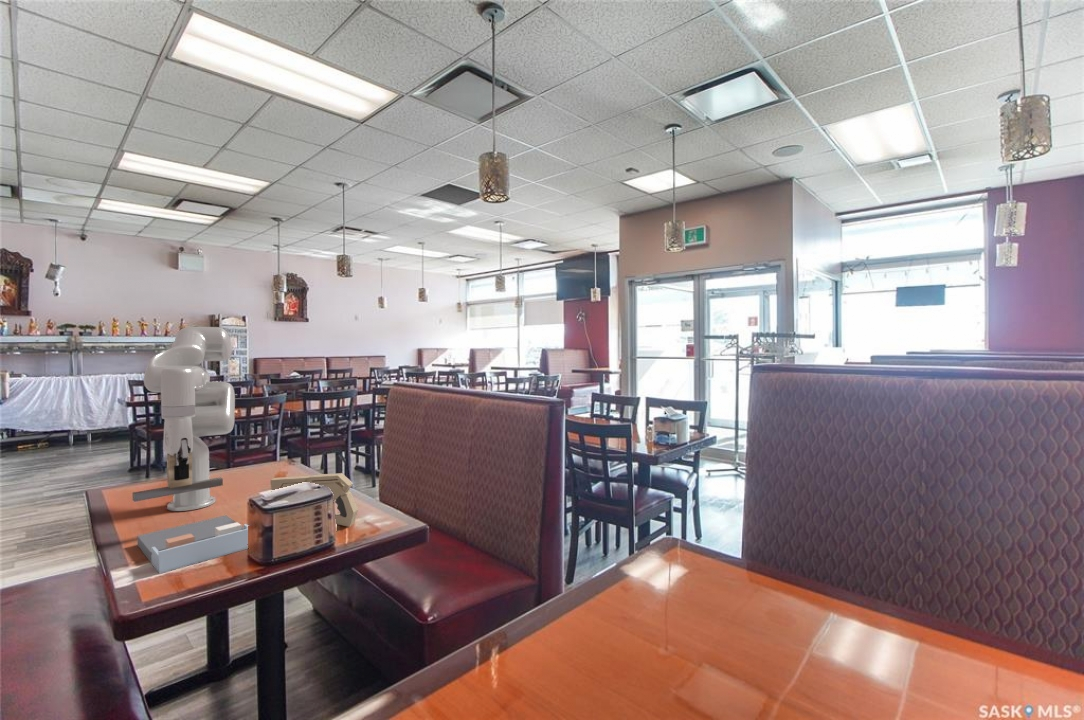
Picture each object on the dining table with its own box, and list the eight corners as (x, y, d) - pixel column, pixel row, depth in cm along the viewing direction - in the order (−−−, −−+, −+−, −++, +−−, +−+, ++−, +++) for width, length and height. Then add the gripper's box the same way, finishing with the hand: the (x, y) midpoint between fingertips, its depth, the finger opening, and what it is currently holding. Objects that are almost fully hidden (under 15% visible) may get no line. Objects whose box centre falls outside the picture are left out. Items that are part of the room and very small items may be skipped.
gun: (359, 523, 141) (355, 472, 141) (354, 527, 138) (349, 475, 138) (281, 526, 144) (276, 476, 143) (274, 531, 140) (269, 479, 140)
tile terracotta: (165, 539, 115) (168, 543, 113) (190, 533, 119) (194, 536, 117) (166, 560, 115) (169, 564, 113) (191, 553, 119) (194, 557, 117)
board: (137, 545, 125) (137, 535, 125) (226, 523, 140) (226, 515, 140) (150, 562, 115) (150, 552, 115) (244, 537, 130) (244, 528, 130)
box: (151, 563, 115) (150, 542, 115) (245, 538, 130) (245, 519, 130) (159, 573, 110) (159, 552, 109) (256, 546, 125) (256, 527, 125)
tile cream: (215, 527, 123) (218, 530, 121) (237, 522, 127) (241, 524, 125) (215, 546, 123) (219, 550, 121) (237, 541, 127) (241, 544, 125)
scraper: (132, 499, 128) (131, 458, 127) (220, 483, 143) (219, 446, 143) (134, 502, 126) (133, 460, 125) (223, 485, 141) (222, 448, 141)
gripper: (154, 410, 136) (155, 475, 137) (169, 416, 126) (170, 486, 126) (186, 408, 142) (188, 470, 142) (203, 413, 131) (204, 480, 132)
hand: (179, 477), depth 134 cm, fingers closed on scraper, 3 cm apart
